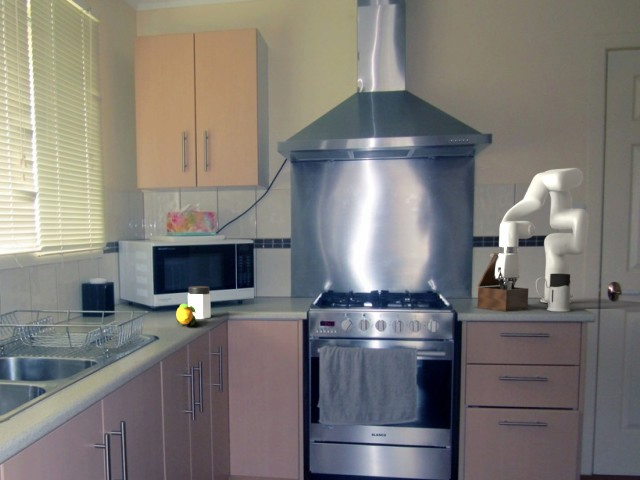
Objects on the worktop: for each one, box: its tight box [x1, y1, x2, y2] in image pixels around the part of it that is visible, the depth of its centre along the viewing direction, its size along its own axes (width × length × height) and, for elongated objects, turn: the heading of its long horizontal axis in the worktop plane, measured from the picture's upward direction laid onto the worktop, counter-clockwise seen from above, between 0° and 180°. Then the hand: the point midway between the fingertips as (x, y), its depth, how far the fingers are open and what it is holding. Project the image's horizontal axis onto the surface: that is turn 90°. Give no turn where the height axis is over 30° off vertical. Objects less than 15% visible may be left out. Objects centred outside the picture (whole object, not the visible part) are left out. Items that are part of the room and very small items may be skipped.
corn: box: [175, 303, 197, 327], centre depth 237 cm, size 7×8×20 cm
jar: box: [187, 285, 212, 320], centre depth 257 cm, size 9×8×12 cm
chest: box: [477, 285, 529, 312], centre depth 279 cm, size 15×14×9 cm
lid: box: [477, 252, 504, 288], centre depth 282 cm, size 16×14×5 cm
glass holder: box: [535, 273, 571, 313], centre depth 272 cm, size 9×14×15 cm, turn 89°
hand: (506, 294), depth 277 cm, fingers closed on flask, 3 cm apart
